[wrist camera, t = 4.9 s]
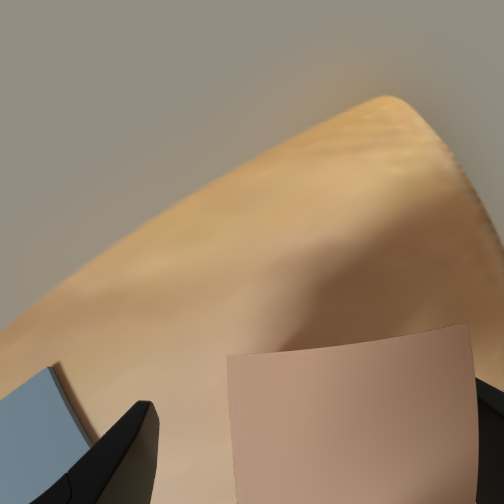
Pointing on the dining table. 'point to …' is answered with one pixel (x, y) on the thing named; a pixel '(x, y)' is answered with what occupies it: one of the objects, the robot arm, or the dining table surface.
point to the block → (357, 422)
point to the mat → (37, 438)
